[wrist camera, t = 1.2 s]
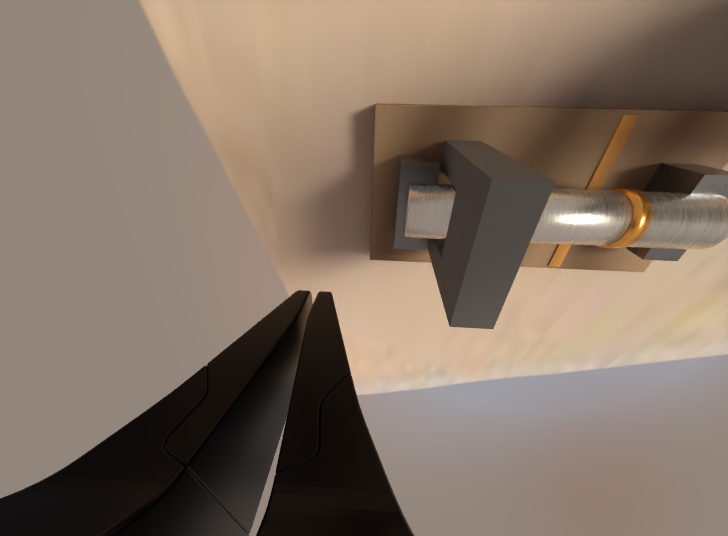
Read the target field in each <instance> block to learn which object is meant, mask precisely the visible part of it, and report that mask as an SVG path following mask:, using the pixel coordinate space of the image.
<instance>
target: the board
mask: <svg viewBox="0 0 728 536" xmlns="http://www.w3.org/2000/svg"><path fill="white" fill-rule="evenodd" d="M445 140H455V141H482V142H484V143H485V144H487V145H489V146H491V147H493V148H495V149H497V150H499V151H500V152H502V153H504V154H506V155H508V156H510V157H512V158H513V159H515V160H517V161H519V162H521V163H523V164H525V165H527V166H528V167H530V168H532V169H534V170H536V171H538V172H540V173H541V174H543V175H545V176H547V177H549V178H551V179H553V180H554V181H556V183H555V185H554V187H553V188H555V189H584V190H610V189H635V190H639V191H642V192H643V191H644V189H645V188H646V186H647V185H648V183H649V181H650V180H651V178H652V177H653V175H654V173H655V172H656V170H657V169H658V167H659V165H660V164H661V163H685V164H700V165H704V166H708V167H713V168H717V169H721V170H722V168H723V167H724V166H725V164H726V163H727V162H728V112H720V111H676V110H633V109H589V108H546V107H502V106H458V105H415V104H376V108H375V136H374V164H373V192H372V220H371V248H370V260H388V261H410V262H431V259H430V255H429V251H428V248H427V246H426V250H414V249H394V246H393V232H392V230H393V218H394V207H395V195H396V184H397V172H398V161H399V155H421V156H433V157H434V158H435V159H436V161H437V162H438V163H439V165H440V167H441V162H442V156H443V150H444V144H445ZM437 184H439V185H452V183H451V182H450V180H449V179H448V178H447V176H446V175H445V174H444V172H443V171H442V169H441V168H440V172H439V178H438V183H437ZM427 242H428V241H427ZM651 262H652V260H643V259H641V258H640V257H638V256H637V255H635V254H634V253H632V252H631V251H629V250H628V249H626V248H601V247H597V246H595V245H571V244H548V243H530V244H529V246H528V248H527V251H526V253H525V255H524V258H523V260H522V262H521V265H520V267H541V268H563V269H585V270H607V271H628V272H644V271H645V270H646V268H647V267H648V266H649V264H650V263H651Z"/></svg>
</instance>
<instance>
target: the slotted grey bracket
mask: <svg viewBox="0 0 728 536" xmlns="http://www.w3.org/2000/svg"><path fill="white" fill-rule="evenodd" d="M440 168H441V169H442V171H443V172H444V174H445V175H446V176H447V178H448V179H449V180H450V182H451V183H452V185H453V186H454V187H455V189H456V194H455V198H454V203H453V208H452V212H451V217H450V221H449V226H448V230H447V235H446V239H429V238H428V242H427V248H428V251H429V255H430V259H431V262H432V266H433V269H434V273H435V276H436V280H437V283H438V287H439V290H440V294H441V298H442V301H443V305H444V308H445V312H446V315H447V319H448V322H449V326H450V327H465V328H484V329H493V328H494V326H495V323H496V321H497V319H498V316H499V314H500V312H501V309H502V307H503V305H504V302H505V300H506V298H507V295H508V293H509V291H510V288H511V286H512V284H513V281H514V279H515V276H516V274H517V272H518V269H519V267H520V265H521V262H522V260H523V258H524V255H525V253H526V251H527V248H528V246H529V244H530V241H531V239H532V237H533V234H534V232H535V230H536V227H537V225H538V223H539V220H540V218H541V215H542V213H543V211H544V208H545V206H546V204H547V201H548V199H549V197H550V194H551V192H552V190H553V187H554V185H555V183H556V181H554V180H553V179H551V178H549V177H547V176H545V175H543V174H541V173H540V172H538V171H536V170H534V169H532V168H530V167H528V166H527V165H525V164H523V163H521V162H519V161H517V160H515V159H513V158H512V157H510V156H508V155H506V154H504V153H502V152H500V151H499V150H497V149H495V148H493V147H491V146H489V145H487V144H485V143H484V142H482V141H455V140H445V144H444V150H443V156H442V162H441V167H440Z"/></svg>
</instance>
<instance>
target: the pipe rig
mask: <svg viewBox="0 0 728 536" xmlns="http://www.w3.org/2000/svg"><path fill="white" fill-rule="evenodd" d="M439 172H440V165H439V163H438V162H437V161H436V159H435V158H434V157H433V156H421V155H399V161H398V172H397V184H396V195H395V207H394V218H393V230H392V232H393V246H394V249H414V250H426V246H427V241H428V238H429V239H446V235H447V230H448V226H449V221H450V217H451V212H452V208H453V203H454V198H455V194H456V189H455V187H454V186H453V185H439V184H437V183H438V178H439ZM727 237H728V171H725V170H721V169H717V168H713V167H708V166H704V165H700V164H685V163H661V164H660V165H659V167H658V169H657V170H656V172H655V173H654V175H653V177H652V178H651V180H650V181H649V183H648V185H647V186H646V188H645V189H644V191H643V192H642V191H639V190H635V189H610V190H584V189H555V188H553V190H552V192H551V194H550V197H549V199H548V201H547V204H546V206H545V208H544V211H543V213H542V215H541V218H540V220H539V223H538V225H537V227H536V230H535V232H534V234H533V237H532V239H531V241H530V243H548V244H571V245H595V246H597V247H601V248H626V249H628V250H629V251H631V252H632V253H634V254H635V255H637V256H638V257H640V258H641V259H643V260H664V261H678V260H679V259H680V257H681V256H682V255H683V254H684V253H685V251H686V250H687V249H689V250H700V249H706V248H710V247H712V246H715V245H717V244H719V243H720V242H722V241H723V240H724V239H726V238H727Z"/></svg>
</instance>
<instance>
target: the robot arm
mask: <svg viewBox="0 0 728 536" xmlns="http://www.w3.org/2000/svg"><path fill="white" fill-rule="evenodd" d="M286 418H287V419H286ZM285 421H286V424H285ZM284 424H285V429H284V434H283V439H282V444H281V448H280V454H279V458H278V463H277V468H276V475H275V478H274V483H273V487H272V491H271V495H270V499H269V502H268V506H267V509H266V512H265V515H264V517H263V520H262V522H261V525H260V527H259V530H258V532H257V535H256V536H414V534H413V532H412V530H411V528H410V526H409V525H408V523H407V521H406V519H405V517H404V515H403V513H402V510H401V509H400V506H399V504H398V502H397V500H396V497H395V495H394V493H393V491H392V488H391V486H390V483H389V481H388V478H387V476H386V473H385V470H384V468H383V465H382V463H381V460H380V458H379V455H378V453H377V450H376V448H375V445H374V443H373V440H372V438H371V436H370V433H369V430H368V428H367V425H366V422H365V419H364V417H363V414H362V411H361V408H360V405H359V402H358V398H357V395H356V391H355V387H354V383H353V379H352V376H351V371H350V367H349V363H348V359H347V355H346V351H345V346H344V342H343V338H342V334H341V330H340V326H339V321H338V317H337V313H336V309H335V305H334V301H333V297H332V293H331V292H322V291H320V292H319V293H318V294H317V297H316V299H315V301H314V303H312V295H311V292H310V291H303V290H298V291H296V292H295V293H294V294H292V295H291V296H290V297H289V298H288V299H287V300H285V301H284V302H283V303H281V304H280V305H279V306H278V307H276V309H274V310H273V311H272V312H271V313H269V314H268V315H267V316H265V317H264V318H263V319H262V320H261V321H259V322H258V323H257V324H256V325H255V326H253V327H252V328H251V329H249V330H248V331H247V332H246V333H245V334H243V335H242V336H241V337H240V338H238V339H237V340H236V341H235V342H233V343H232V344H231V345H230V346H229V347H227V348H226V349H225V350H224V351H222V352H221V353H220V354H219V355H218V356H216V357H215V358H214V359H213V360H212V361H210V362H209V363H208V364H207V366H204V367H203V368H201V369H200V370H199V371H198V372H197V373H195V374H194V375H193V376H192V377H190V378H189V379H188V380H186V381H185V382H184V383H183V384H181V385H180V386H179V387H178V388H176V389H175V390H174V391H172V392H171V393H170V394H168V395H167V396H166V397H164V398H163V399H162V400H160V401H159V402H158V403H156V404H155V405H153V406H152V407H151V408H149V409H148V410H146V411H145V412H144V413H142V414H141V415H139V416H138V417H137V418H135V419H134V420H132V421H131V422H129V423H128V424H127V425H125V426H124V427H122V428H121V429H120V430H118V431H117V432H115V433H114V434H112V435H111V436H110V437H108V438H107V439H105V440H104V441H103V442H101V443H100V444H98V445H97V446H95V447H94V448H93V449H91V450H90V451H88V452H87V453H85V454H84V455H83V456H81V457H80V458H78V459H77V460H75V461H74V462H72V463H71V464H69V465H68V466H66V467H65V468H63V469H61V470H60V471H58V472H56V473H54V474H53V475H51V476H49V477H47V478H45V479H43V480H42V481H40V482H38V483H36V484H34V485H32V486H29V487H27V488H25V489H23V490H20V491H18V492H15V493H13V494H11V495H8V496H5V497H3V498H0V536H249V535H248V534H249V533H250V531H251V528H252V525H253V521H254V518H255V515H256V512H257V509H258V506H259V502H260V500H261V496H262V493H263V490H264V486H265V484H266V480H267V477H268V474H269V471H270V468H271V465H272V462H273V458H274V455H275V452H276V449H277V446H278V443H279V440H280V437H281V433H282V430H283V427H284Z"/></svg>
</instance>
